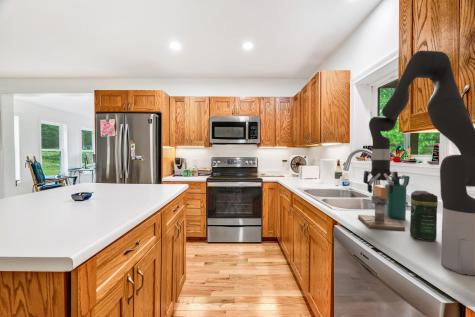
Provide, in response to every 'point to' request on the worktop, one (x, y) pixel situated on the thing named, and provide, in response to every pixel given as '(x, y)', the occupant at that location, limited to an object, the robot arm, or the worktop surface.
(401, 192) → the square teal bottle
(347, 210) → the worktop surface
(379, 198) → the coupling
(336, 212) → the worktop surface
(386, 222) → the stand
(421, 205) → the coffee jar
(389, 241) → the worktop surface
